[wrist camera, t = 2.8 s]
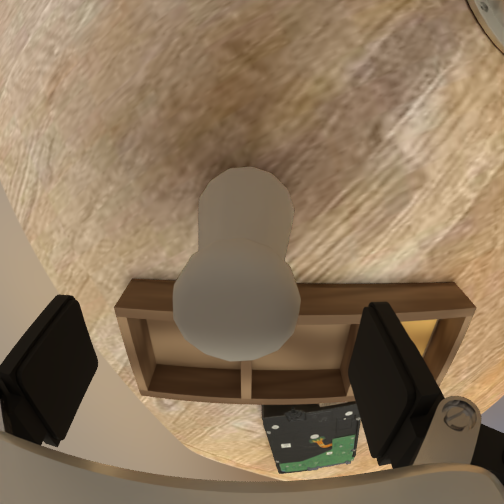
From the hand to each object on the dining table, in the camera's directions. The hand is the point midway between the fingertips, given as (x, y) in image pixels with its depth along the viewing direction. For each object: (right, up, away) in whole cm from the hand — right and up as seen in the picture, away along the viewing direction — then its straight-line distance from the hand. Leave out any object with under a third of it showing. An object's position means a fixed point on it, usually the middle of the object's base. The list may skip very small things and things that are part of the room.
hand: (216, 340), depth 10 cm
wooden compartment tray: (+5, -4, +16) cm, 18 cm away
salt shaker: (+1, +6, +12) cm, 13 cm away
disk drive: (+8, -18, +24) cm, 31 cm away
